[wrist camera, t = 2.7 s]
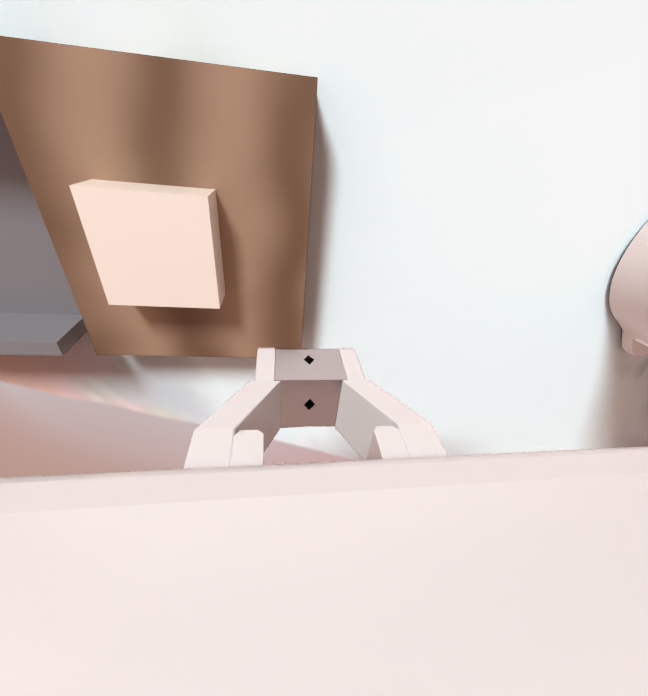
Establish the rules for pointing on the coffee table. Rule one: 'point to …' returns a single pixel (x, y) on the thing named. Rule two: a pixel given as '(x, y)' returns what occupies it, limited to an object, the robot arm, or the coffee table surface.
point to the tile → (153, 242)
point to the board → (171, 181)
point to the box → (30, 270)
